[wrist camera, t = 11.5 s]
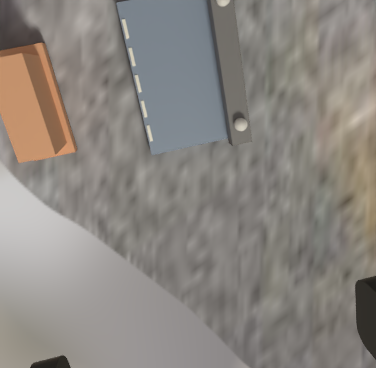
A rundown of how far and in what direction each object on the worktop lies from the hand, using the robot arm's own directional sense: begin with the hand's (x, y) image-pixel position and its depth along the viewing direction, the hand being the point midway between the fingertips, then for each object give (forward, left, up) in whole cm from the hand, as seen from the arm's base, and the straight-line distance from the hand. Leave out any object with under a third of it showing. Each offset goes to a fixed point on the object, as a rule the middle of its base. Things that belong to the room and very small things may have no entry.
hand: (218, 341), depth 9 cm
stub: (-6, -10, -28) cm, 30 cm away
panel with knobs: (-6, +4, -28) cm, 29 cm away
